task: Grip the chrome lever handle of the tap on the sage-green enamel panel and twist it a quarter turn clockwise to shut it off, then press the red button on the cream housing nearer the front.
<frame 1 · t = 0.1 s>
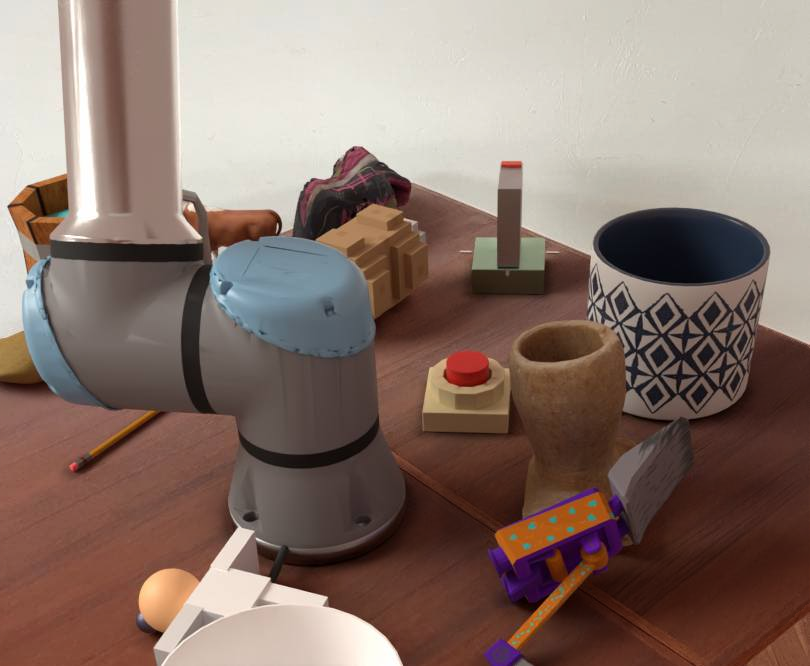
athletic shoe: (307, 198, 137), point 4 cm above the table
red button: (467, 369, 106), point 4 cm above the table, slide at 0.1 cm
bull figurine: (227, 271, 133), on the table
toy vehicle: (564, 495, 87), point 7 cm above the table, touching stone cup
potato: (43, 337, 119), point 2 cm above the table
pencil: (146, 424, 110), on the table
roast turkey: (366, 312, 124), on the table
tap panel: (508, 277, 129), on the table
planter: (663, 380, 111), on the table
stone cup: (571, 498, 98), on the table, touching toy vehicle
tap handle: (509, 213, 124), point 8 cm above the table, hinge at 0.0°
button box: (467, 408, 109), on the table
figurine: (319, 637, 83), point 2 cm above the table
mug: (136, 323, 125), on the table
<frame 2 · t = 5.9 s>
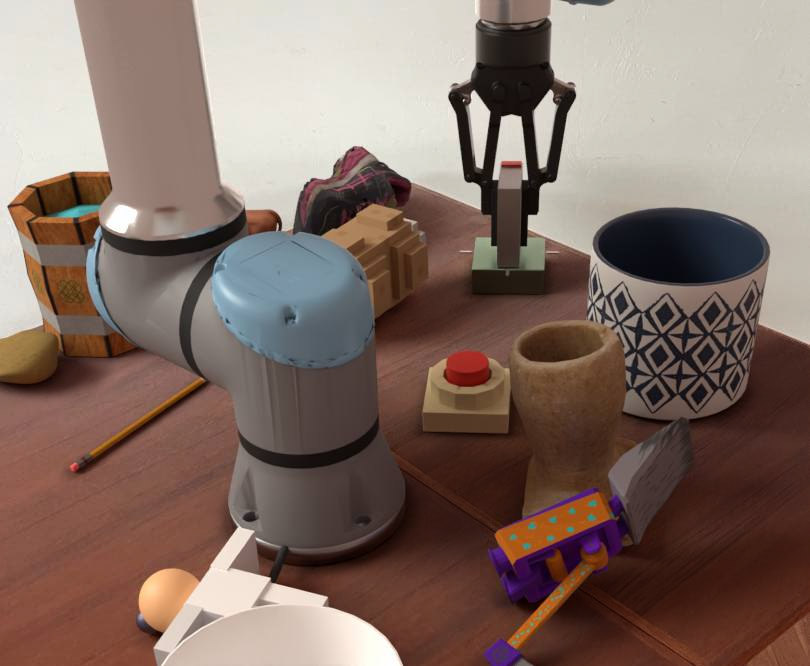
hand: (509, 240, 126), 5 cm above the table, tool pointing down, fingers closed on tap handle, 2 cm apart
tap handle: (509, 213, 124), point 8 cm above the table, hinge at 0.0°, touching gripper
everything else where it was.
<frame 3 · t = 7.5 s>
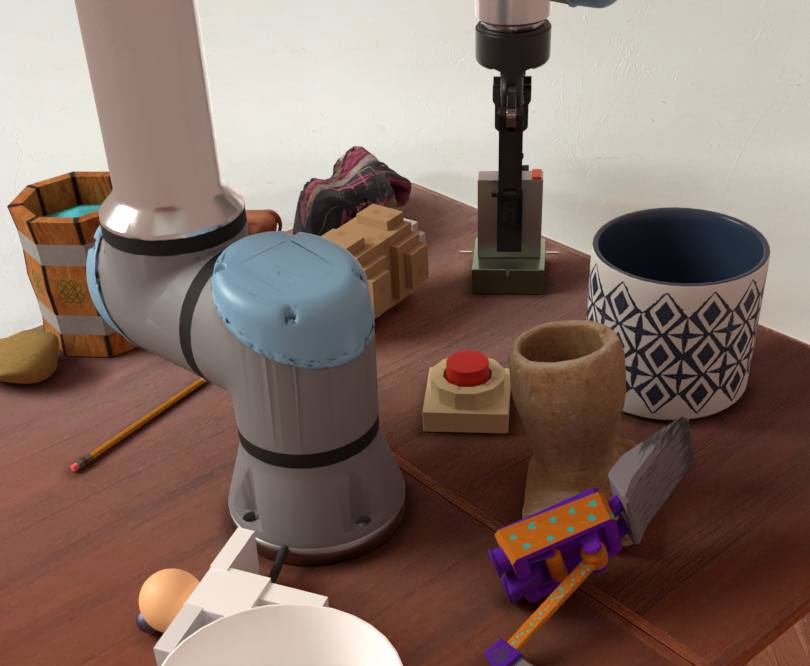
hand: (509, 241, 126), 4 cm above the table, tool pointing down, fingers open, 4 cm apart
tap handle: (509, 213, 124), point 8 cm above the table, hinge at -89.2°
everything else where it was.
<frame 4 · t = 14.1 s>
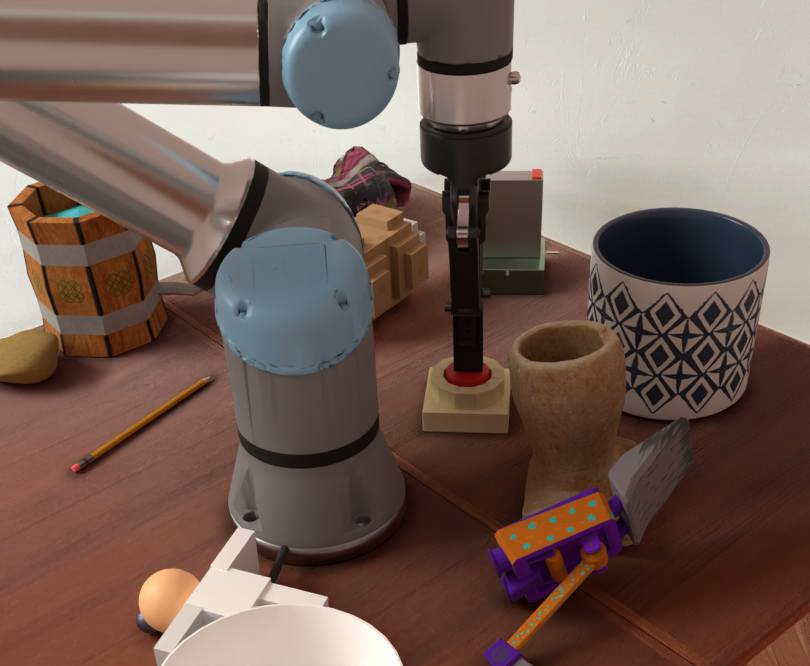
hand: (468, 366, 106), 5 cm above the table, tool pointing down, fingers closed
red button: (467, 377, 106), point 4 cm above the table, slide at -0.8 cm, touching gripper
everything else where it was.
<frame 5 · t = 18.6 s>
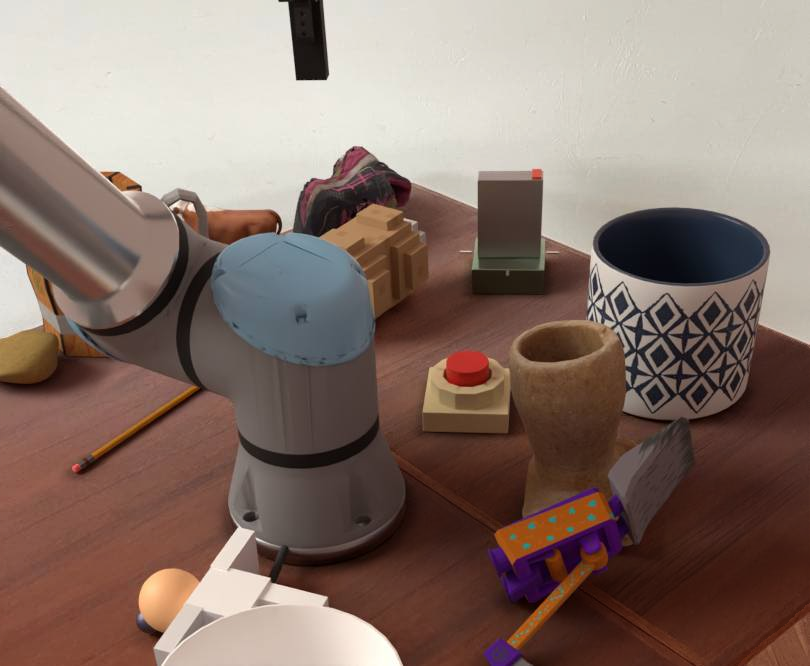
hand: (312, 77, 99), 28 cm above the table, tool pointing down, fingers closed
red button: (467, 369, 106), point 4 cm above the table, slide at 0.1 cm
everything else where it was.
at the end: tap handle at -89° (first picture: +0°); red button pushed in 1.0 cm at the most during the clip, back to where it started at the end; red button slide at 0.1 cm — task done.
